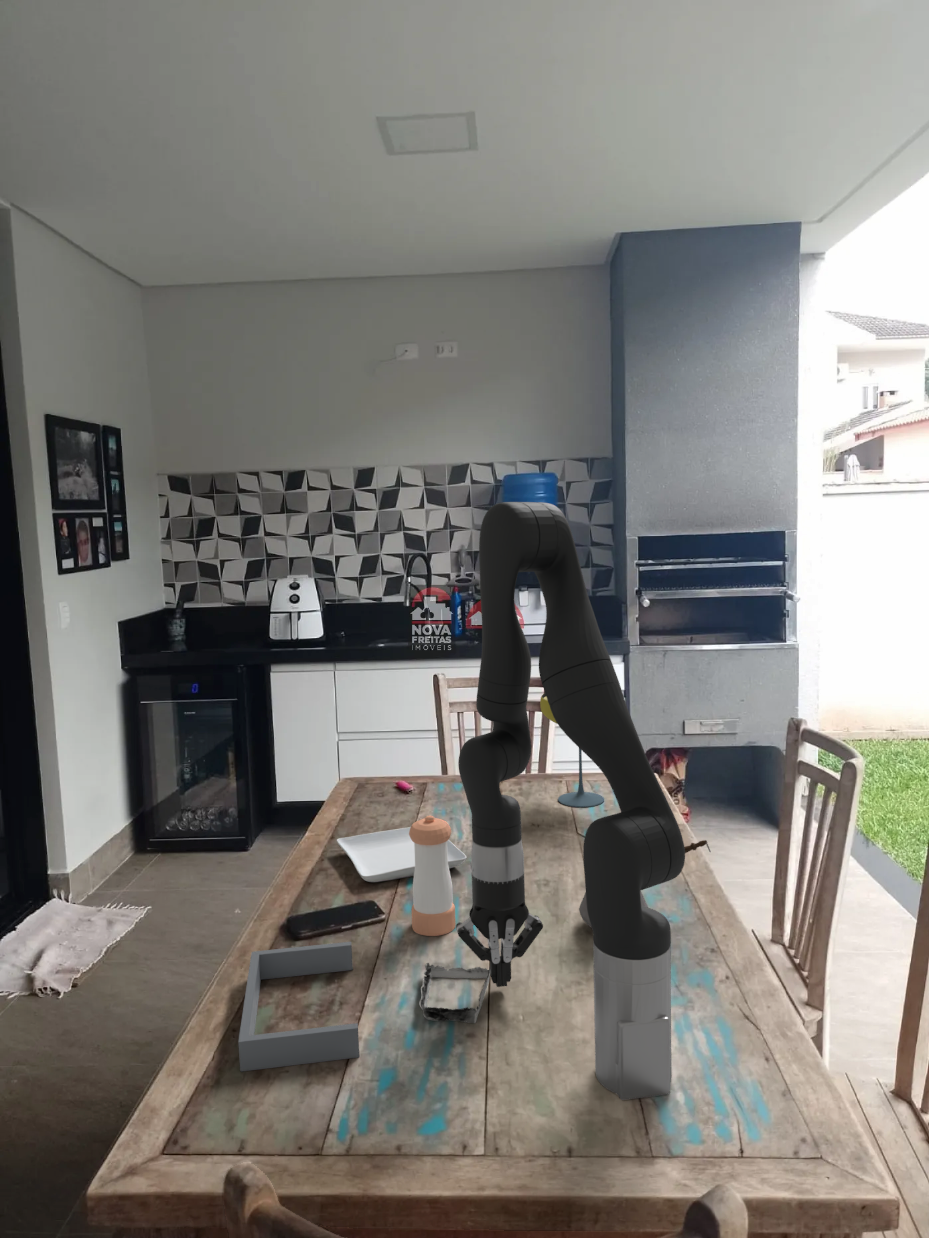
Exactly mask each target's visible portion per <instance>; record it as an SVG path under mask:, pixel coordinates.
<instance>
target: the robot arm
mask: <svg viewBox="0 0 929 1238" xmlns="http://www.w3.org/2000/svg"><path fill="white" fill-rule="evenodd" d="M574 539H575V538H574V536H573V532H572V529H571V526H570V524H569V521H568V519H567V518H566V515H564V513H563V511H562V510H561V509H560V508H559V507H558V506H556V505H554V504H553V503H548V502H538V501H537V502H535V501H534V502H533V501H504V502H498V503H496V504H494V505H492V506H491V507H490V508H489V509H488V510H487V511H486V512H485V515H484V516H483V519H482V522H481V526H480V530H479V542H478V548H479V549H478V550H479V551H478V554H479V556H478V557H479V559H478V560H479V589H480V594H479V595H480V609H481V610H480V613H481V637H482V638H481V657H480V658H481V659H480V665H479V666H480V667H479V674H478V683H477V685H478V686H477V691H476V701H475V702H476V704H475V705H476V710H477V713H478V714H479V716H480V717H482V718H483V719H485V720H487V721H491V722H492V724H493V725H492V730H491V732H490V731H489V732H487V733H484V734H480V735H477V736H475V737H474V736H473V737H471V738H470V739H467V740H466V741H465V742H464V743H463V745H462V747H461V749H460V752H459V755H458V765H457V766H458V772H459V776H460V780H461V783H462V787H463V789H464V793H465V795H466V799H467V803H468V806H469V808H470V812H471V833H472V834H471V835H472V837H471V838H472V840H471V841H472V843H471V851H470V853H471V854H470V859H471V861H470V869H471V893H472V896H471V897H472V905H471V909H469V910H470V911H469V914H468V915H469V916H468V918H466V920H465V921H463V922H457V924H456V925H455V928H456V931H457V935H458V937H459V938H460V940H461V941H463V942H464V944H465V945H466V946H467V947H468V948H469V949H470V950H471V951H472V952H473V954H474V955H475V956H476V957H477V958H478V959H479V960H480V961H482V962H483V961H484V962H485V961H487V962H489V967H490V978H491V981H492V984H495V985H496V988H500V987H507V986H508V983H509V982H510V983H511V979H512V960H513V959H514V958H516V957H517V958H521V957H523V956H524V955H525V953H526V951H528V949H529V948H530V946H531V945H532V944H533V942H534V941H535V939H536V938H537V937H538V936H539V934H540V933H541V931H543V928H544V924H543V922H542V920H541V918H540V917H539V915H535V914H534V915H533V914H532V913H530V912H529V909H528V907H527V904H526V897H525V895H526V893H525V892H526V891H525V890H526V888H525V855H524V854H525V853H524V848H523V843H522V842H523V840H522V839H523V838H522V835H523V834H522V812H521V806H520V803H519V801H518V800H517V799H516V798H514V797H513V796H511V795H507V794H502V793H501V787H500V786H501V785H500V783H502V782H505V781H507V780H510V779H514V778H515V777H518V776H519V775H521V774H522V773H524V771H525V770H526V768H527V767H528V764H529V762H530V759H531V755H532V740H531V739H532V738H531V732H530V724H529V723H530V722H529V716H528V710H527V704H528V697H529V690H530V682H531V675H532V657H531V656H532V655H531V652H530V646H529V644H528V642H527V638H526V636H525V634H524V631H523V629H522V626H521V623H520V620H519V617H518V614H517V610H516V604H515V594H516V593H515V592H516V584H517V578H518V576H519V573H530V572H533V573H534V574H535V576H536V578H537V580H538V583H539V585H540V589H541V592H542V596H543V600H544V604H545V609H546V611H545V613H546V619H545V624H544V625H545V626H544V631H543V636H542V639H541V644H540V648H539V649H540V650H539V657H538V673H539V678H540V681H541V684H542V688H543V691H544V693H545V694H546V697H547V700H548V703H549V706H550V709H551V711H552V714H553V716H554V718H555V720H556V722H557V724H556V725H558V726H559V728H560V729H561V731H562V732H563V734H565V735H566V736H567V737H568V738H569V739H570V741H571V742H572V743H573V744H575V745H576V746H577V748H578V749H579V748H580V749H581V751H582V752H583V753H584V754H585V755H586V756H587V757H588V758H589V759H590V760H591V761H592V762H593V763H594V765H596V766H597V767H598V769H599V770H600V771H601V772H602V774H603V775H604V777H605V778H606V780H607V781H608V784H609V786H610V787H611V790H612V792H613V795H614V796H615V799H616V802H617V804H618V807H619V811H620V812H617V813H614V814H610V815H606V816H603V817H600V818H597V819H596V820H594V821H592V822H591V823H590V825H589V826H588V827H587V829H586V831H585V835H584V840H583V848H582V849H583V850H582V853H583V854H582V856H583V857H582V858H583V873H584V874H583V875H584V885H585V886H584V887H585V892H586V902H587V911H588V916H589V920H590V923H591V926H592V928H591V929H592V942H593V944H592V945H593V948H592V949H593V998H594V999H593V1004H594V1005H593V1007H594V1011H593V1012H594V1013H593V1016H594V1019H593V1020H594V1021H593V1022H594V1062H595V1063H594V1065H595V1066H594V1067H595V1076H596V1077H595V1078H596V1079H597V1081H598V1082H599V1084H600V1085H602V1086H603V1087H604V1088H605V1089H606V1090H608V1091H610V1092H612V1093H614V1094H616V1095H617V1096H618V1097H619V1099H620V1100H622V1101H625V1100H633V1099H634V1100H635V1099H641V1098H649V1097H656V1096H664V1095H669V1094H671V1083H672V1078H673V1077H672V1075H673V1074H672V1073H673V1072H672V1071H673V1069H672V1066H673V1065H672V971H671V970H672V950H671V949H672V946H671V945H672V942H671V941H672V935H671V934H672V932H671V931H672V929H671V925H670V921H669V920H668V918H667V917H666V916H665V915H664V914H662V913H661V912H659V911H658V910H656V909H653V908H651V907H649V906H648V907H645V906H641V897H640V891H641V892H642V891H643V890H646V889H648V888H652V887H655V886H658V885H661V884H664V883H667V882H669V881H672V880H674V879H676V878H677V877H678V876H679V875H680V874H681V873H682V872H683V869H684V866H685V863H686V862H685V861H686V853H685V843H684V839H683V835H682V831H681V829H680V827H679V823H678V821H677V818H676V817H675V814H674V812H673V810H672V808H671V805H670V804H669V802H668V799H667V797H666V795H665V794H664V791H663V789H662V786H661V785H660V782H659V780H658V779H657V777H656V774H655V772H654V770H653V768H652V766H651V764H650V762H649V761H650V760H648V756H647V755H646V752H645V750H644V746H643V745H642V742H641V739H640V737H639V734H638V732H637V729H636V727H635V725H634V721H633V719H632V717H631V714H630V712H629V708H628V705H627V702H626V700H625V696H624V694H623V690H622V687H621V684H620V680H619V678H618V675H617V673H616V670H615V668H614V667H615V666H614V664H613V661H612V659H611V657H610V654H609V652H608V650H607V647H606V644H605V642H604V639H603V636H602V634H601V630H600V627H599V625H598V621H597V619H596V616H595V612H594V609H593V606H592V604H591V603H592V602H591V601H590V597H589V594H588V591H587V586H586V584H585V579H584V575H583V572H582V567H581V564H580V559H579V555H578V551H577V548H576V542H575V540H574ZM523 925H524V927H523V929H522V930H521V932H520V934H519V935H518V936H517V937H516V939H515V940H514V937H515V936H516V935H517V934H518V933H519V931H520V929H521V928H522V926H523ZM474 927H476V929H477V930H478V931H479V933H481V935H482V936H483V937H485V939H486V940H487V945H488V947H486V946H484V944H483V943H482V942H481V941H480V940H479V939H478V938H477V937H476V936H475V933H476V932H475V930H474ZM499 940H500V942H499Z"/></svg>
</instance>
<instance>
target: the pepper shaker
mask: <svg viewBox="0 0 929 1238" xmlns="http://www.w3.org/2000/svg"><path fill="white" fill-rule="evenodd" d="M410 827H411V828H410V831H409V835H410V838H411V840H412V841H413V842H414V849H415V871H414V876H413V880H412V898H413V899H412V900H413V904H412V906H411V927H412V928H411V929H412V931H413V932H415V933H416V934H418V935H421V936H424V937H425V936H427V937H436V936H437V937H438V936H443V935H447V934H449V933H450V932H453V930H454V929H455V928H456V925H457V924H456V906H455V904H454V902H453V882H452V881H453V880H452V877H451V871H450V869H449V866H448V852H447V841H448V840H450V838H451V836H452V827H451V826H450V824H449V823H448V822H447V821H446V820H443V819H441V818H437V817H434V816H433V815H427V816H425V817H424V818H421V819H419V820H417V821H414V822H413V823H412V824H411V826H410Z"/></svg>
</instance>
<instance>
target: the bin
mask: <svg viewBox="0 0 929 1238" xmlns="http://www.w3.org/2000/svg"><path fill="white" fill-rule="evenodd" d="M250 953H251V954H250V961H249V968H248V973H247V974H248V975H247V980H246V981H247V982H246V987H245V994H244V1001H243V1009H242V1016H241V1021H240V1022H241V1023H240V1028H239V1033H238V1054H239V1055H238V1056H239V1058H238V1059H239V1070H240V1072H247V1071H249V1072H250V1071H255V1070H264V1069H272V1068H274V1069H275V1068H280V1067H282V1068H283V1067H289V1066H297V1065H306V1064H314V1063H323V1062H329V1061H339V1060H347V1059H354V1058H357V1059H358V1058H360V1043H359V1042H360V1039H359V1038H360V1037H359V1026H358V1025H359V1024H358V1022H357V1023H356V1022H355V1023H347V1024H346V1023H345V1024H338V1025H329V1026H322V1027H321V1026H320V1027H312V1028H305V1029H304V1028H303V1029H294V1030H287V1031H277V1032H270V1033H269V1032H268V1033H260V1034H256V1033H255V1031H256V1026H257V1016H258V1015H257V1014H258V1007H259V1000H260V991H261V982H262V981H261V980H269V979H270V980H271V979H282V978H290V977H299V976H309V975H318V974H326V973H335V972H345V971H353V970H354V969H353V967H354V965H353V947H352V941H343V942H333V943H325V944H324V943H323V944H315V945H305V946H296V947H295V946H294V947H285V948H275V949H264V950H256V951H251V952H250Z"/></svg>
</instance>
